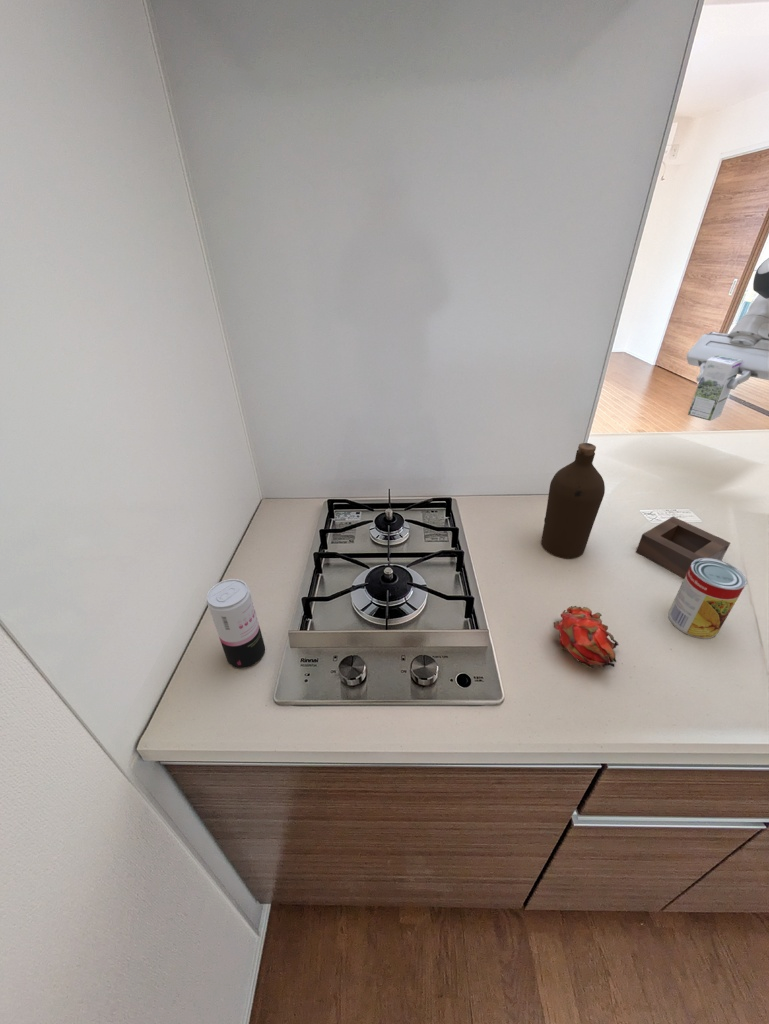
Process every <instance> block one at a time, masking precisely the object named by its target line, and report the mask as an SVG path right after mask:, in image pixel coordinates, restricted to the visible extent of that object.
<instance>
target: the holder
mask: <svg viewBox="0 0 769 1024" xmlns="http://www.w3.org/2000/svg"><path fill="white" fill-rule="evenodd" d="M730 545H731V542H730V541H727V540H725V539H724V538H721V537H719V536H717V535H714V534H712V533H710V532H708V531H706V530H705V529H702V528H700V527H697V526H695V525H693V524H691V523H688V522H686V521H684V520H682V519H680V518H678V517H675V516H671V517H670V518H668V519H666V520H665V521H662V522H661V523H659V524H657V525H656V526H654V527H652V528H650V529H649V530H647V531H645V532H643V533H642V535H641V537H640V540H639V542H638V545H637V548H636V550H635V553H636V554H638V555H641V556H642V557H643V558H646V559H647V560H649V561H651V562H653V563H655V564H657V565H658V566H660V567H662V568H664V569H666V570H668V571H670V572H671V573H673V574H675V575H676V576H679V577H680V578H682V579H684V578H685V576H686V574H687V572H688V570H689V568H690V565H691V563H692V562H693V561H694V560H696V559H699V558H712V559H717V560H720V561H723V558H724V557H725V554H726V553H727V551H728V549H729V547H730Z"/></svg>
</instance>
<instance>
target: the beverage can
mask: <svg viewBox="0 0 769 1024" xmlns="http://www.w3.org/2000/svg"><path fill="white" fill-rule="evenodd" d="M206 605H207V607H208V610H209V614H210V615H211V618H212V621H213V624H214V627H215V630H216V632H217V633H216V634H217V635H218V639H219V641H220V644H221V646H222V649H223V652H224V654H225V658H226V661H227V663H228V664H229V665H230V666H231V667H232V668H235V669H247V668H250V667H252V666H254V665H256V664H257V663H259V661H261V660H262V658H263V657H264V655H265V652H266V645H265V642H264V638H263V634H262V629H261V627H260V623H259V619H258V616H257V612H256V608H255V605H254V601H253V597H252V593H251V590H250V588H249V586H248V585H247V583H246V581H244V580H242V579H238V578H228V579H225V580H224V579H223V580H222V581H219V582H217V583H216V584H214V585H213V586H211V587H210V589H209V590H208V592H207V594H206Z"/></svg>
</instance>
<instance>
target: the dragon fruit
mask: <svg viewBox="0 0 769 1024" xmlns="http://www.w3.org/2000/svg"><path fill="white" fill-rule="evenodd" d="M601 617H602V613H600V612H595V613H593V611H592V609H591V608H589V607H587V606H583V607H581V606H576V605H574V606H573V605H571V606H569V607H567V608H566V609H564V610H563V611H562V613H560V618H561V620H560V621H554V622H553V628H554V629H555V630H557V631H558V632H559V633H560V635H559V636H560V637H559V640H558V641H559V647H560V649H561V650H562V651H568V652H569V653H570V654H571V655H572V656H573V658H574V659H575V660H577V661H578V663H579V664H581V665H584V666H586V667H588V668H591V669H594V667H593V666H592V665H597V666H602V667H603V668H606V667H608V666H610V667H615V663H616V662H618V660H616V653H615V651H614V649H616V648H617V646H620V644H619V642H618V641H617V640H615V637H614V635H613V634H611V632H609V631H607V630H609V626H608V625H606V624H603V620H602V618H601ZM608 637H609V638H608Z"/></svg>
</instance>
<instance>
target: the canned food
mask: <svg viewBox="0 0 769 1024" xmlns="http://www.w3.org/2000/svg"><path fill="white" fill-rule="evenodd" d="M747 581H748V580H747V577H746V576H745V574H744V573H743V572H742V571H741V570H740V569H738V568H737V567H736V566H734V565H733V564H730V563H728V562H727V561H724V560H721V561H720V560H717V559H712V558H699V559H696V560H694V561H693V562H692V563H691V565H690V568H689V570H688V572H687V574H686V576H685V578H683V579H682V582H681V584H680V587H679V589H678V591H677V593H676V595H675V597H674V599H673V601H672V603H671V606H670V608H669V610H668V614H667V615H668V616H667V617H668V619H669V621H670V622H671V624H672V625H673V626H674V627H675V628H676V629H677V630H679V632H682V633H684V634H686V635H688V636H690V637H694V638H697V639H711V638H714V637H716V636H717V634H718V633H719V632H720V630H721V628H722V626H723V625H724V623H725V621H726V620H727V617H728V616H729V614H730V613H731V611H732V609H733V608H734V605H735V604H736V603H737V601H738V599H739V597H740V596H741V594H742V592H743V591H744V589H745V587H746V585H747Z"/></svg>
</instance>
